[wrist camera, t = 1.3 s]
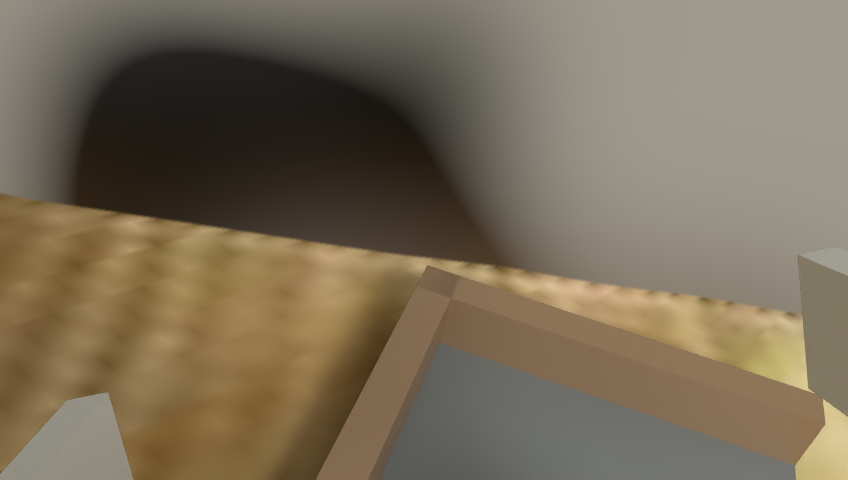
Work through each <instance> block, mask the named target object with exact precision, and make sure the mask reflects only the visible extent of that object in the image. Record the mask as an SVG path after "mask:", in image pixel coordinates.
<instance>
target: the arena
mask: <svg viewBox="0 0 848 480" xmlns="http://www.w3.org/2000/svg"><path fill="white" fill-rule="evenodd" d="M824 425H825V416H824V408H823V399H822V398H821V397H820V396H818V395H817V394H814V393H811V392H808V391H805V390H802V389H799V388H796V387H793V386H790V385H787V384H784V383H781V382H778V381H775V380H772V379H769V378H766V377H763V376H760V375H757V374H754V373H751V372H748V371H745V370H742V369H739V368H736V367H733V366H730V365H727V364H724V363H721V362H718V361H715V360H712V359H709V358H706V357H703V356H700V355H697V354H694V353H691V352H688V351H685V350H682V349H679V348H676V347H673V346H670V345H667V344H664V343H661V342H658V341H655V340H651V339H648V338H645V337H642V336H639V335H636V334H633V333H630V332H627V331H624V330H621V329H618V328H615V327H612V326H609V325H606V324H603V323H600V322H597V321H594V320H591V319H588V318H585V317H582V316H579V315H576V314H573V313H570V312H567V311H564V310H561V309H558V308H555V307H552V306H549V305H546V304H543V303H540V302H537V301H534V300H531V299H528V298H525V297H522V296H519V295H516V294H513V293H510V292H507V291H504V290H501V289H498V288H495V287H492V286H489V285H486V284H482V283H479V282H476V281H473V280H470V279H467V278H464V277H461V276H458V275H455V274H452V273H449V272H446V271H443V270H440V269H437V268H434V267H431V266H428V265H427V267H426V269H425V271H424V273H423V275H422V277H421V279H420V280H419V282H418V284H417V286H416V288H415V290H414V292H413V294H412V296H411V298H410V300H409V302H408V303H407V305H406V307H405V309H404V311H403V313H402V315H401V317H400V319H399V321H398V323H397V325H396V326H395V328H394V330H393V332H392V334H391V336H390V338H389V340H388V342H387V344H386V346H385V348H384V349H383V351H382V353H381V355H380V357H379V359H378V361H377V363H376V365H375V367H374V369H373V371H372V372H371V374H370V376H369V378H368V380H367V382H366V384H365V386H364V388H363V390H362V392H361V393H360V395H359V397H358V399H357V401H356V403H355V405H354V407H353V409H352V411H351V413H350V415H349V416H348V418H347V420H346V422H345V424H344V426H343V428H342V430H341V432H340V434H339V436H338V438H337V439H336V441H335V443H334V445H333V447H332V449H331V451H330V453H329V455H328V457H327V459H326V461H325V462H324V464H323V466H322V468H321V470H320V472H319V474H318V476H317V478H316V480H796V475H795V465H796V463H797V462H798V461H799V459H800V458H801V456H802V455H803V454H804V452H805V451H806V450H807V448H808V447H809V446H810V444H811V443H812V442H813V440H814V439H815V438H816V436H817V435H818V433H819V432H820V431H821V429H822V428H823V427H824Z"/></svg>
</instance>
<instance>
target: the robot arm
mask: <svg viewBox="0 0 848 480" xmlns="http://www.w3.org/2000/svg"><path fill="white" fill-rule="evenodd" d="M798 265H799V277H800V290H801V301H802V315H803V327H804V340H805V352H806V364H807V377H808V388H809V389H810V390H811V391H813V392H814V393H816V394H817V395H818V396H820V397H821V398H823V399H824V400H825V401H827V402H828V403H830V404H831V405H832V406H834V407H835V408H837V409H838V410H839V411H841V412H842V413H844V414H845V415H846V416H848V251H846V250H844V249H841V248H838V247H833V248H828V249H823V250H818V251H813V252H809V253H803V254H799V255H798ZM0 480H133V476H132V473H131V469H130V466H129V463H128V459H127V456H126V452H125V449H124V445H123V442H122V439H121V435H120V432H119V428H118V425H117V421H116V418H115V414H114V411H113V408H112V404H111V401H110V397H109V394H108V392H106V393H101V394H96V395H91V396H86V397H81V398H76V399H71V400H66V401H65V403H64V404H63V405H62V406H61V407H60V408H59V409H58V410H57V411H56V413H55V414H54V415H53V416H52V417H51V418H50V419H49V420H48V421H47V423H46V424H45V425H44V426H43V427H42V428H41V429H40V430H39V431H38V433H37V434H36V435H35V436H34V437H33V438H32V439H31V440H30V441H29V442H28V444H27V445H26V446H25V447H24V448H23V449H22V450H21V451H20V452H19V454H18V455H17V456H16V457H15V458H14V459H13V460H12V461H11V462H10V464H9V465H8V466H7V467H6V468H5V469H4V470H3V471H2V472H1V474H0Z"/></svg>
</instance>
